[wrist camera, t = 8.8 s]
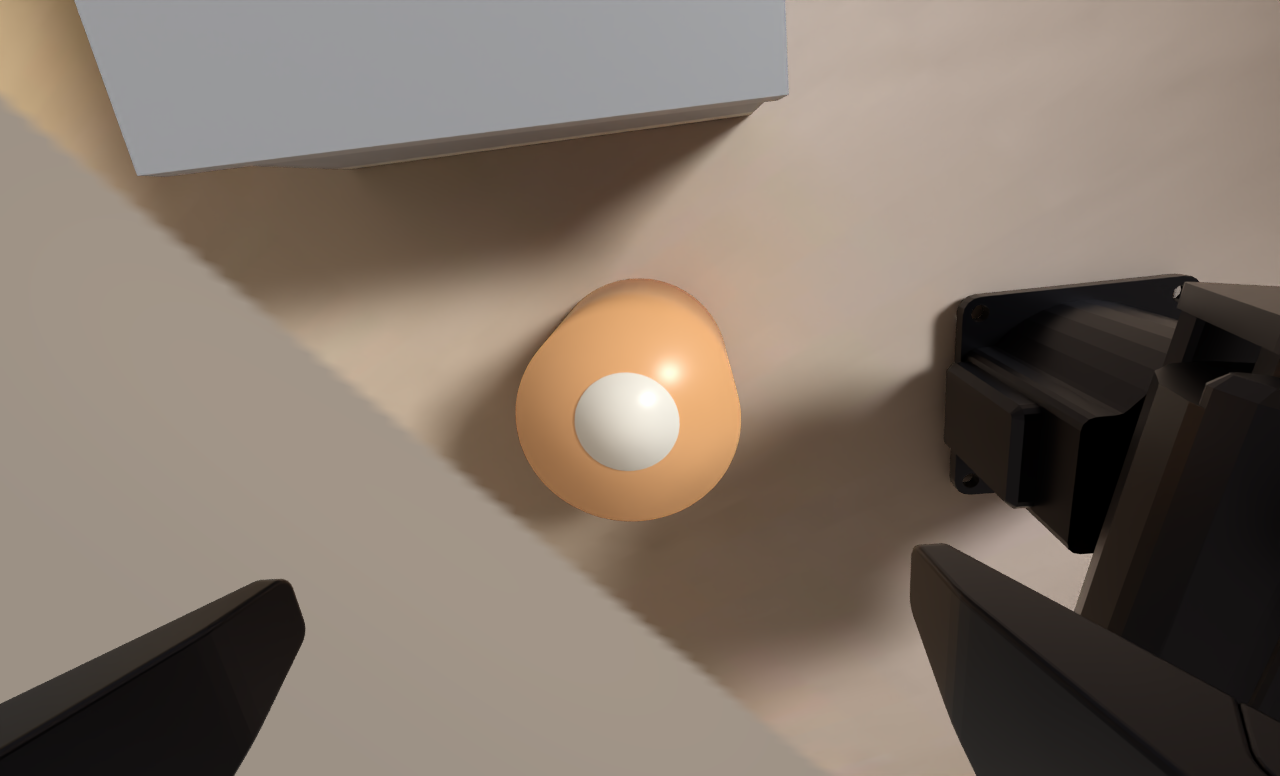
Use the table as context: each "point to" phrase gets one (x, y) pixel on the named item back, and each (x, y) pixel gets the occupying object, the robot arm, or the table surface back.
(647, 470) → the orange round cylinder
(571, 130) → the carton
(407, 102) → the lid
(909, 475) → the table surface
